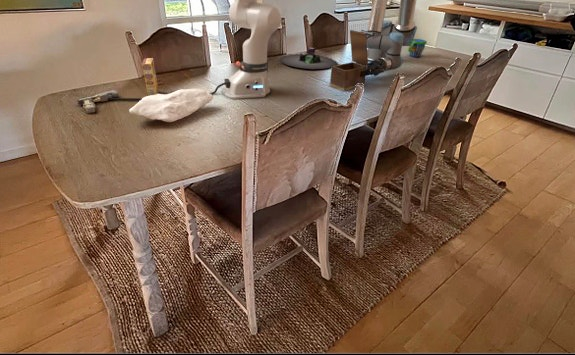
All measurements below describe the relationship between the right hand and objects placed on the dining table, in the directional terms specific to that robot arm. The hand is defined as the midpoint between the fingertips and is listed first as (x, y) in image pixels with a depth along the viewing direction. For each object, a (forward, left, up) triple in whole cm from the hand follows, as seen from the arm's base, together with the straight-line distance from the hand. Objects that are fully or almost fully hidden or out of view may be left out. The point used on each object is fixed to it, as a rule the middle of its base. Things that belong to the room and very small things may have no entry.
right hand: (353, 71), depth 187 cm
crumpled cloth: (+78, -52, -7) cm, 94 cm away
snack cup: (-81, +19, -7) cm, 84 cm away
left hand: (-1, +1, +31) cm, 31 cm away
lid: (-1, +1, +11) cm, 11 cm away
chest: (+3, -1, -7) cm, 8 cm away
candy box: (+65, -74, -7) cm, 99 cm away
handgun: (+84, -85, -7) cm, 120 cm away
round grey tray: (-26, -36, -7) cm, 45 cm away
